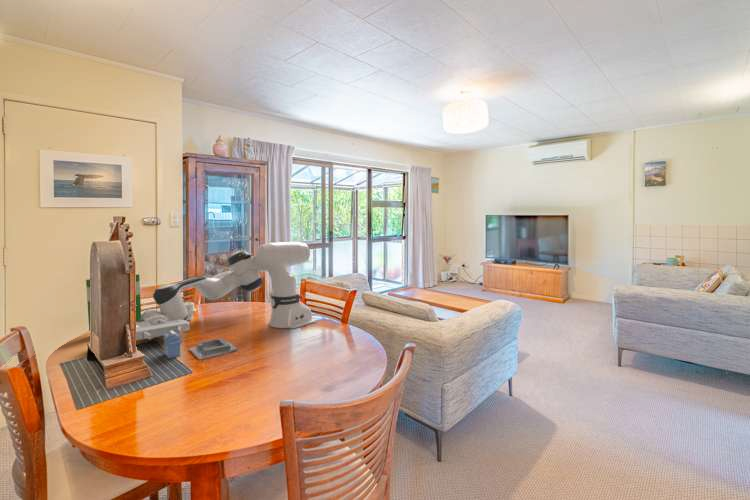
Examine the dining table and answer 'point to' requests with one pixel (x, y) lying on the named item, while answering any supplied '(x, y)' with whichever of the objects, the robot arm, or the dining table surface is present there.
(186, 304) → the pipe fitting
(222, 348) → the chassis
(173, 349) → the servo
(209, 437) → the dining table surface
